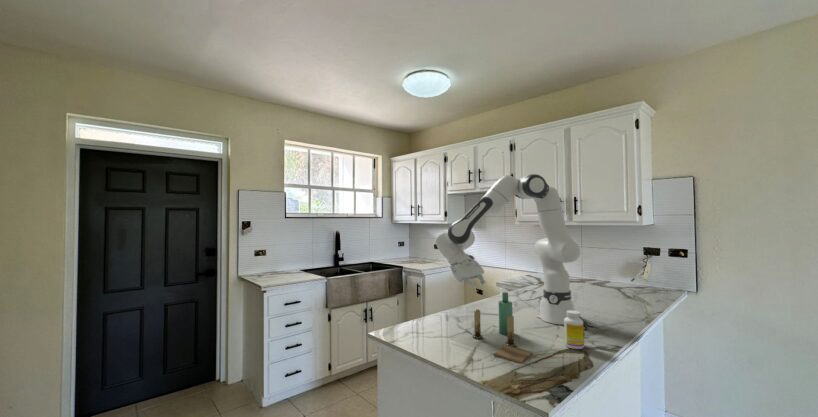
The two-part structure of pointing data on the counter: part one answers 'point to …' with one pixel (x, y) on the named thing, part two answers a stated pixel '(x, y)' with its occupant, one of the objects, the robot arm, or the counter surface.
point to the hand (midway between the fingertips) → (479, 285)
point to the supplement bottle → (573, 330)
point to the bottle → (504, 313)
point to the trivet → (513, 354)
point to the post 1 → (477, 325)
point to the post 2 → (510, 331)
